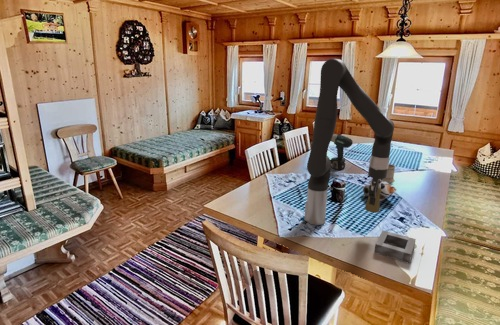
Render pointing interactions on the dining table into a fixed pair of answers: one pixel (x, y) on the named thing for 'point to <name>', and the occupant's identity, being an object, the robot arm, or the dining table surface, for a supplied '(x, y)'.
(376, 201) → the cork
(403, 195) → the dining table surface
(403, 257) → the square holder
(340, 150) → the power drill
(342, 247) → the dining table surface
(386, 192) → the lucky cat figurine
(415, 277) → the dining table surface
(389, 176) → the mug
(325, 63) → the robot arm
